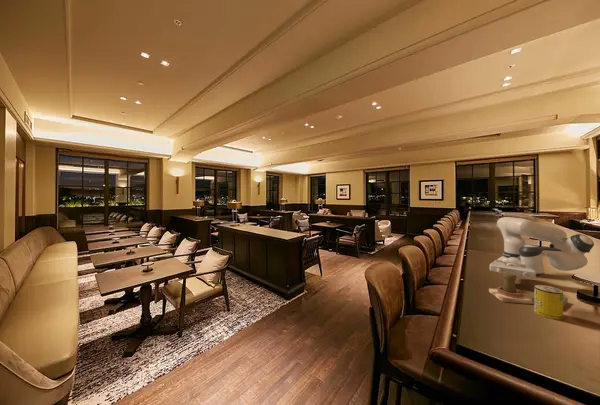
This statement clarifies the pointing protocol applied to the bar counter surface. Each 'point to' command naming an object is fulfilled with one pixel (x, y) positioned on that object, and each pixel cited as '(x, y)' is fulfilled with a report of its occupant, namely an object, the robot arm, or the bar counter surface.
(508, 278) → the cork
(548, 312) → the yellow can
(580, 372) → the bar counter surface
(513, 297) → the square base with ring
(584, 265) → the robot arm
